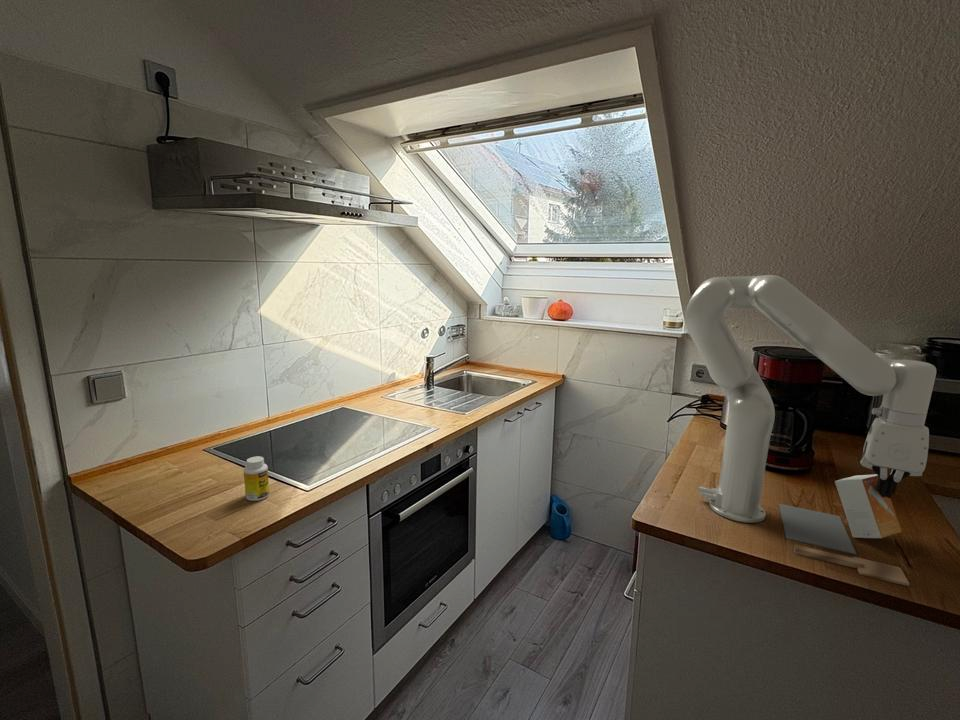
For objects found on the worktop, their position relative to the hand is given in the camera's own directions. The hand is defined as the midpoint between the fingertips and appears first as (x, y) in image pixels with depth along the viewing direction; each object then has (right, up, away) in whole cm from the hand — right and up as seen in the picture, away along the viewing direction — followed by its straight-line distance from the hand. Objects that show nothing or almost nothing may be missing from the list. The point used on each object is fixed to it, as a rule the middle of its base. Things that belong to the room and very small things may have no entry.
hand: (884, 494), depth 109 cm
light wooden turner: (-13, -13, -7) cm, 20 cm away
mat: (-11, -10, +7) cm, 16 cm away
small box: (0, -10, +2) cm, 10 cm away
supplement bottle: (-148, -5, +15) cm, 148 cm away
